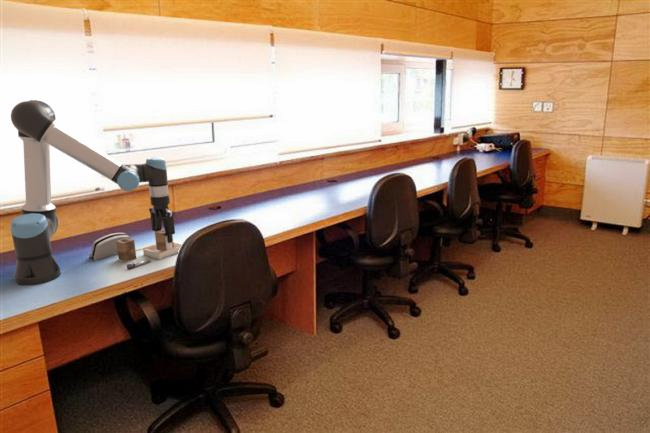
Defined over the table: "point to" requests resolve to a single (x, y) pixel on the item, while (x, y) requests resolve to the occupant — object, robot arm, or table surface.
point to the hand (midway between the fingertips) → (165, 248)
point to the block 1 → (126, 249)
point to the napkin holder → (106, 245)
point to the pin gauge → (137, 264)
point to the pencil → (144, 247)
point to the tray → (159, 254)
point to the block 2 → (161, 240)
